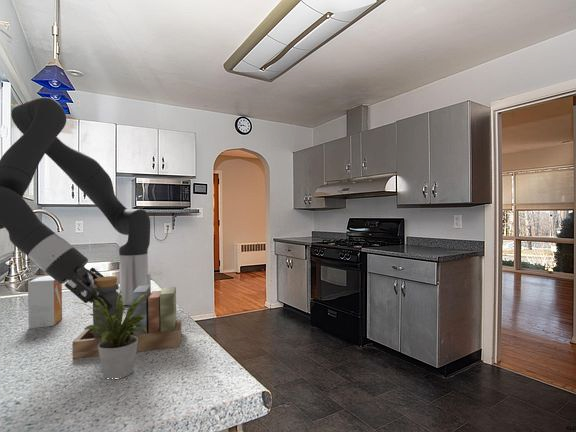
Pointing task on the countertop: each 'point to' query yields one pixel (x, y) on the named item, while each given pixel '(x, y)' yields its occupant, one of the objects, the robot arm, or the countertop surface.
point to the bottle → (107, 290)
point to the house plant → (117, 338)
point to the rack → (158, 322)
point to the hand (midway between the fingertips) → (114, 304)
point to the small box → (44, 302)
